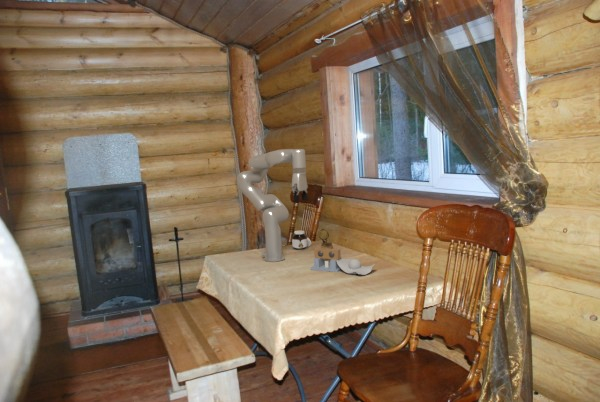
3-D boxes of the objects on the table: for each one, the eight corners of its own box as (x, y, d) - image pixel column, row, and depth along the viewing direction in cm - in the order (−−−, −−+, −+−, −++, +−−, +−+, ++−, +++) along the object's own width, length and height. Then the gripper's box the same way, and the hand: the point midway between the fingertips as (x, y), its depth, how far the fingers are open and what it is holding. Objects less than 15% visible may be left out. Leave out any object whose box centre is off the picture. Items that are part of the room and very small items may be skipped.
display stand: (310, 269, 259) (310, 259, 258) (318, 265, 268) (318, 255, 267) (337, 272, 251) (337, 261, 251) (344, 267, 260) (344, 256, 259)
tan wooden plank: (314, 257, 260) (314, 249, 260) (317, 256, 263) (317, 247, 263) (338, 259, 254) (337, 250, 253) (340, 258, 257) (340, 249, 256)
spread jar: (291, 250, 312) (290, 232, 310) (294, 246, 323) (293, 229, 322) (309, 249, 310) (308, 232, 308) (312, 246, 321) (311, 229, 319)
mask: (356, 278, 238) (378, 275, 246) (357, 263, 238) (379, 261, 246) (332, 270, 255) (354, 267, 263) (333, 256, 254) (354, 254, 262)
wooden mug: (331, 257, 285) (330, 228, 283) (337, 262, 271) (335, 231, 269) (316, 259, 283) (315, 229, 281) (322, 264, 270) (320, 233, 268)
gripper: (300, 170, 276) (301, 199, 278) (286, 172, 261) (287, 203, 263) (312, 170, 273) (313, 199, 275) (298, 172, 258) (299, 203, 260)
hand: (300, 201), depth 269 cm, fingers open, 9 cm apart
